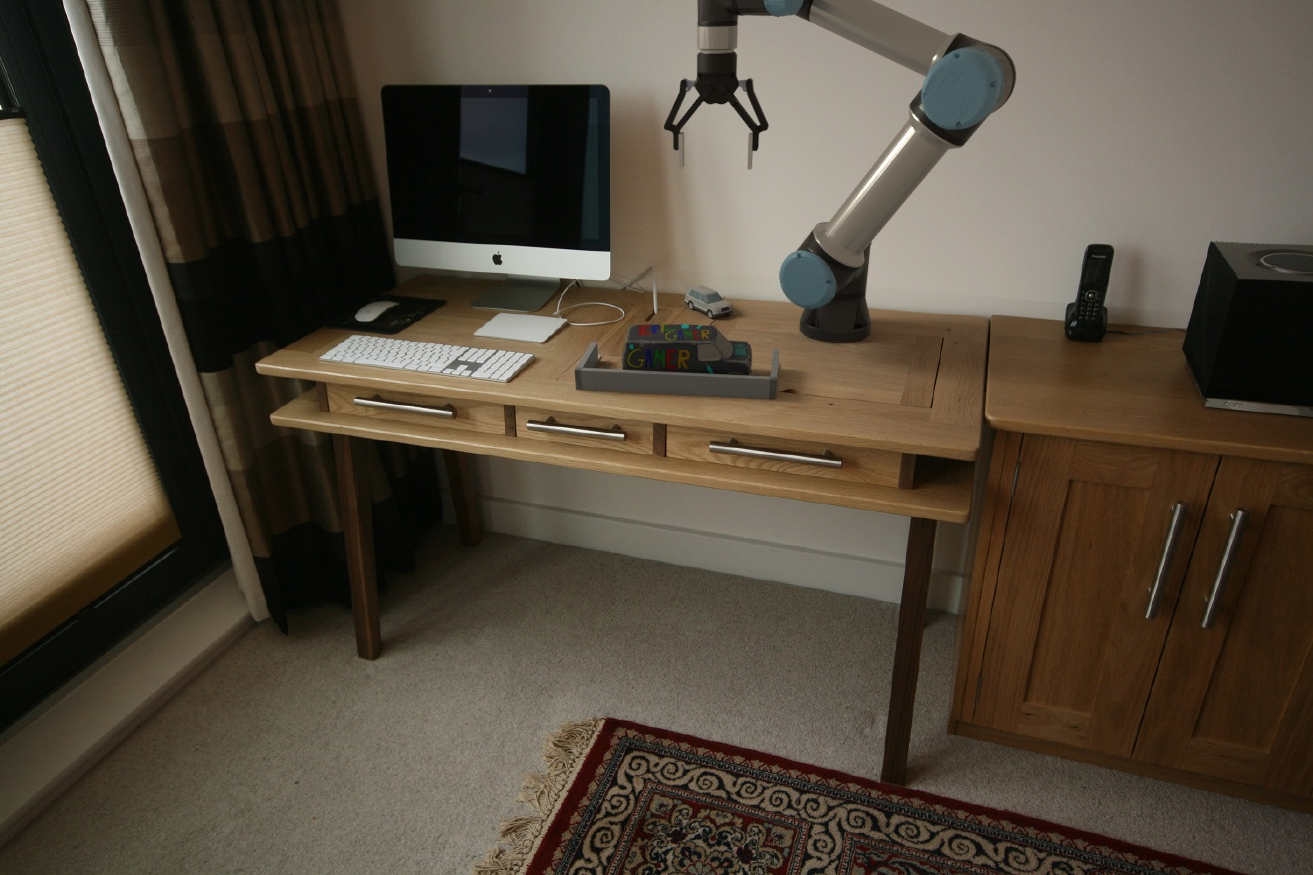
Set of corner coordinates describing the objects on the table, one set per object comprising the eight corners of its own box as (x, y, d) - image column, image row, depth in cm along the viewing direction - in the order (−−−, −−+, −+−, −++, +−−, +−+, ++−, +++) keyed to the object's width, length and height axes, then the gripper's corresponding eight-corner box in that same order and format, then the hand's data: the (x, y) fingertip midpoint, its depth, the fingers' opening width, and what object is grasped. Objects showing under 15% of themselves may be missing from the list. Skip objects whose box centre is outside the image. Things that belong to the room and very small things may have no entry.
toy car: (715, 322, 194) (715, 301, 192) (682, 307, 204) (682, 286, 201) (735, 317, 197) (736, 296, 195) (702, 302, 207) (702, 282, 204)
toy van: (752, 392, 161) (754, 341, 157) (620, 390, 163) (618, 340, 158) (750, 369, 171) (752, 321, 166) (625, 368, 172) (624, 320, 168)
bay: (778, 364, 172) (779, 345, 170) (775, 399, 158) (776, 379, 156) (595, 355, 178) (594, 337, 176) (575, 389, 163) (574, 370, 161)
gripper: (784, 49, 164) (779, 164, 174) (654, 50, 167) (656, 163, 177) (783, 52, 157) (778, 172, 167) (648, 53, 161) (650, 170, 171)
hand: (715, 168), depth 172 cm, fingers open, 13 cm apart
